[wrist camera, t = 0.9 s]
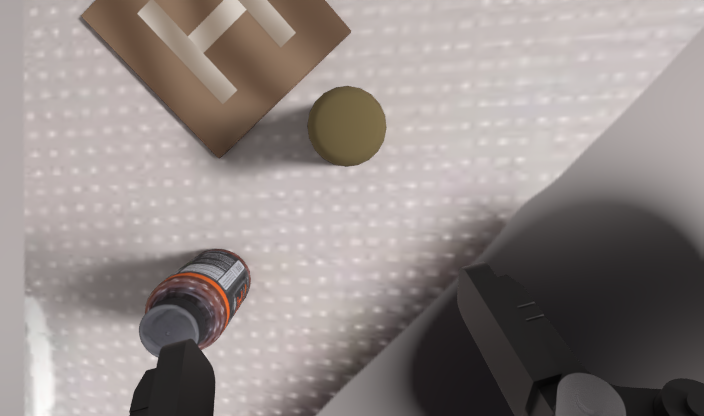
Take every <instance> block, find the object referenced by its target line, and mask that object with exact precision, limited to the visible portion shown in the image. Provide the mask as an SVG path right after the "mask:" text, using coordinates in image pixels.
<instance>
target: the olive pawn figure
mask: <svg viewBox="0 0 704 416" xmlns="http://www.w3.org/2000/svg"><path fill="white" fill-rule="evenodd" d="M307 127H308V134H309V139H310V141H311V143H312V145H313V147H314V149H315V150H316V151H317V153H318V154H319V155H320V156H321V157H322V158H323V159H325V160H327V161H329V162H331V163H332V164H335V165H340V166H345V167H347V166H354V165H359V164H361V163H363V162H365V161H367V160H369V159H370V158H371V157H372V156H374V155H375V154H376V153H377V152H378V150H379V149H380V147H381V145H382V143H383V141H384V138H385V133H386V120H385V114H384V112H383V110H382V108H381V106H380V104H379V103H378V101H377V100H376V99H375V98H374V97H373V96H372V95H371V94H369V93H368V92H366V91H364V90H362V89H361V88H356V87H351V86H344V87H336V88H334V89H332V90H330V91H328V92H326V93H324V94H323V95H322V96H321V97H320V98H319V99H318V100H317V101H316V102H315V103H314V105H313V107H312V109H311V111H310V113H309V119H308V125H307Z"/></svg>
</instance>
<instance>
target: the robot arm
mask: <svg viewBox="0 0 704 416" xmlns="http://www.w3.org/2000/svg"><path fill="white" fill-rule="evenodd" d="M457 300H458V306H459V309H460V312H461V315H462V317H463V319H464V321H465V323H466V325H467V327H468V329H469V330H470V332H471V334H472V336H473V338H474V340H475V342H476V344H477V346H478V347H479V349H480V351H481V353H482V355H483V357H484V359H485V360H486V362H487V364H488V366H489V368H490V370H491V372H492V373H493V376H494V377H495V379H496V381H497V383H498V385H499V387H500V389H501V391H502V393H503V394H504V396H505V398H506V400H507V402H508V404H509V406H510V407H511V409H512V411H513V413H514V415H515V416H704V384H703V383H701V382H698V381H695V380H690V379H674V380H671V381H669V382H668V383H666V385H665V386H664V387H663V388H662V389H647V388H630V387H619V386H615V385H612V384H609V383H606V382H605V381H603V380H602V379H600V378H598V377H596V376H593V375H592V374H591V373H589V372H588V371H587V370H586V369H585V368H584V367H583V366H582V365H581V363H580V362H579V361H578V359H577V358H576V357H575V355H574V354H573V353H572V351H571V350H570V349H569V347H568V346H567V345H566V344H565V342H564V341H563V339H562V338H561V337H560V335H559V334H558V332H557V331H556V330H555V328H554V327H553V326H552V324H551V323H550V322H549V320H548V319H547V318H546V317H545V316H544V314H543V312H542V311H541V309H540V308H539V307H538V305H537V304H535V303H534V300H533V299H532V297H531V296H530V295H529V293H528V292H527V291H526V289H525V288H524V287H523V286H522V285H521V284H520V283H518V282H516V281H515V280H514V279H512V278H511V277H509V276H508V275H504V276H500V277H496V275H495V274H494V272H493V271H492V269H491V268H490V266H489V265H488V264H487V263H485V262H481V263H477V264H473V265H470V266H466V267H462V268H460V269H459V279H458V297H457ZM214 398H215V375H214V371H213V368H212V365H211V364H210V362H209V361H208V359H207V358H206V357H205V355H204V354H203V352H202V351H201V349H200V348H199V347H198V345H197V344H196V342H195V341H194V340H193V339H191V338H190V339H186V340H182V341H179V342H175V343H171V344H167V345H164V346H163V347H162V348H161V350H160V353H159V358H158V363H157V368H154V369H151V370H147V371H146V372H145V374H144V375H143V377H142V379H141V380H140V382H139V384H138V386H137V387H136V389H135V391H134V394H133V399H132V403H131V407H130V411H129V412H130V416H213V412H214Z"/></svg>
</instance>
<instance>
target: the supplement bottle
mask: <svg viewBox="0 0 704 416" xmlns="http://www.w3.org/2000/svg"><path fill="white" fill-rule="evenodd" d="M250 282H251V278H250V271H249V269H248V267H247V265H246V264H245V262H244V261H243V260H242V259H241V258H240V257H239V256H238V255H236V254H235V253H233V252H230V251H227V250H222V249H214V250H209V251H206V252H204V253H202V254H200V255H199V256H197V257H196V258H194V259H193V260H192V261H190V262H189V263H187V264H186V265H185V266H183V267H182V268H181V269H179V270H178V271H177V272H175V273H174V274H173V275H171V276H170V277H168V278H167V279H166V280H164V281H163V282H162V283H161V284H159V285H158V286H157V287H156V288H155V289H154V291H153V292H152V293H151V295H150V296H149V298H148V301H147V303H146V308H145V315H144V317H143V318H142V320H141V323H140V326H139V335H140V339H141V342H142V344H143V345H144V347H145V348H146V349H147V350H148V351H149V352H150V353H151V354H152V355H154V356H156V357H158V358H159V353H160V350H161V348H162V347H163V346H164V345H167V344H171V343H175V342H179V341H182V340H186V339H190V338H191V339H193V340H194V341H195V342H196V344H197V345H198V347H199V348H200V349H201V350H202V349H205V348H207V347H208V346H210V345H211V344H212V343H214V342H215V341H216V340H217V339H218V338H219V337H220V335H221V334H222V332H223V331H224V330H225V328H226V326H227V325H228V323H229V322H230V320H231V319H232V317H233V316H234V314H235V313H236V311H237V310H238V308H239V307H240V305H241V303H242V302H243V301H244V299H245V298H246V296H247V293H248V291H249V288H250Z"/></svg>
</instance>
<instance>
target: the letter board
mask: <svg viewBox="0 0 704 416" xmlns="http://www.w3.org/2000/svg"><path fill="white" fill-rule="evenodd" d="M81 16H82V17H83V18H84V19H85V21H86V22H87V23H88V24H89V25H90V26H91V27H92V28H93V29H94V30H95V31H96V32H97V33H98V34H99V35H100V36H101V37H102V38H103V39H104V40H105V41H106V42H107V43H108V44H109V45H110V46H111V47H112V48H113V50H114V51H115V52H116V53H117V54H118V55H119V56H120V57H121V58H122V59H123V60H124V61H125V62H126V63H127V64H128V65H129V66H130V67H131V68H132V69H133V70H134V71H135V72H136V73H137V74H138V75H139V76H140V77H141V79H142V80H143V81H144V82H145V83H146V84H147V85H148V86H149V87H150V88H151V89H152V90H153V91H154V92H155V93H156V94H157V95H158V96H159V97H160V98H161V99H162V100H163V101H164V102H165V103H166V104H167V105H168V107H169V108H170V109H171V110H172V111H173V112H174V113H175V114H176V115H177V116H178V117H179V118H180V119H181V120H182V121H183V122H184V123H185V124H186V125H187V126H188V127H189V128H190V129H191V130H192V131H193V132H194V133H195V134H196V136H197V137H198V138H199V139H200V140H201V141H202V142H203V143H204V144H205V145H206V146H207V147H208V148H209V149H210V150H211V151H212V152H213V153H214V154H215V155H216V156H217V157H218V158H221V157H222V156H223V155H224V154H225V153H226V152H227V151H228V150H229V149H230V148H231V147H232V146H233V145H234V144H235V143H236V142H238V141H239V140H240V139H241V138H242V137H243V136H244V135H245V134H246V133H247V132H248V131H249V130H250V129H251V128H252V127H253V126H254V125H255V124H256V123H257V122H258V121H259V120H260V119H261V118H262V117H264V116H265V115H266V114H267V113H268V112H269V111H270V110H271V109H272V108H273V107H274V106H275V105H276V104H277V103H278V102H279V101H280V100H281V99H282V98H283V97H284V96H285V95H286V94H287V93H288V92H290V91H291V90H292V89H293V88H294V87H295V86H296V85H297V84H298V83H299V82H300V81H301V80H302V79H303V78H304V77H305V76H306V75H307V74H308V73H309V72H310V71H311V70H312V69H313V68H314V67H316V66H317V65H318V64H319V63H320V62H321V61H322V60H323V59H324V58H325V57H326V56H327V55H328V54H329V53H330V52H331V51H332V50H333V49H334V48H335V47H336V46H337V45H338V44H339V43H340V42H342V41H343V40H344V39H345V38H346V37H347V36H348V35H349V34H350V33H351V30H350V29H349V28H348V27H347V25H346V24H345V23H344V22H343V21H342V20H341V18H340V17H339V16H338V15H337V14H336V13H335V11H334V10H333V9H332V8H331V7H330V6H329V4H328V3H327V2H326V1H325V0H96V1H95V2H94V3H93V4H92V5H91V6H90V7H89V8H88V9H87V10H86V11H85V12H84V13H83V14H82V15H81Z"/></svg>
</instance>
